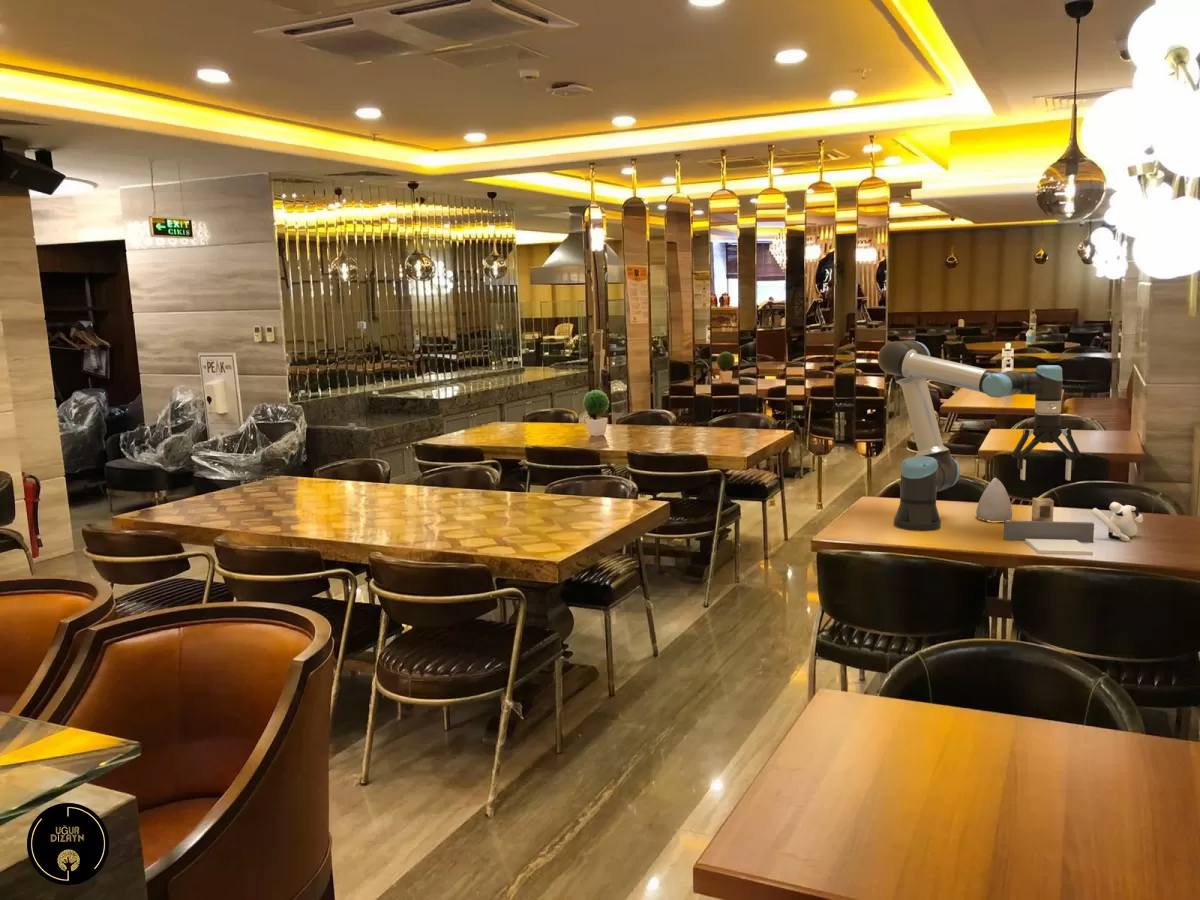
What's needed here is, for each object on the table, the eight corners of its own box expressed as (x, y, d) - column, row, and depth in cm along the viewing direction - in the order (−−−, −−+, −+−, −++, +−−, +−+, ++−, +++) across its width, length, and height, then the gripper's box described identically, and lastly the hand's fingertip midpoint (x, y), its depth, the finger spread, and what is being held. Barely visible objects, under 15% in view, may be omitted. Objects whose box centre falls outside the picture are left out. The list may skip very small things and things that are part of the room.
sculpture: (1020, 522, 316) (1022, 479, 313) (990, 524, 313) (992, 481, 311) (996, 515, 328) (998, 474, 326) (967, 517, 325) (969, 475, 323)
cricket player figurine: (1131, 554, 288) (1115, 527, 280) (1103, 539, 297) (1088, 513, 289) (1160, 525, 288) (1145, 497, 280) (1132, 512, 297) (1117, 484, 289)
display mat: (1038, 553, 273) (1039, 550, 273) (1024, 541, 287) (1025, 538, 287) (1092, 554, 270) (1092, 551, 270) (1075, 543, 285) (1076, 539, 285)
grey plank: (1005, 540, 290) (1006, 521, 289) (1003, 538, 292) (1004, 520, 291) (1093, 542, 285) (1094, 523, 284) (1090, 540, 287) (1092, 522, 286)
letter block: (1035, 537, 293) (1037, 500, 292) (1030, 533, 298) (1032, 497, 297) (1052, 537, 292) (1054, 501, 291) (1047, 534, 297) (1049, 498, 296)
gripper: (1009, 415, 289) (1007, 481, 291) (1094, 414, 284) (1091, 481, 287) (1003, 413, 296) (1001, 477, 299) (1085, 412, 291) (1082, 477, 294)
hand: (1045, 479), depth 293 cm, fingers open, 13 cm apart
